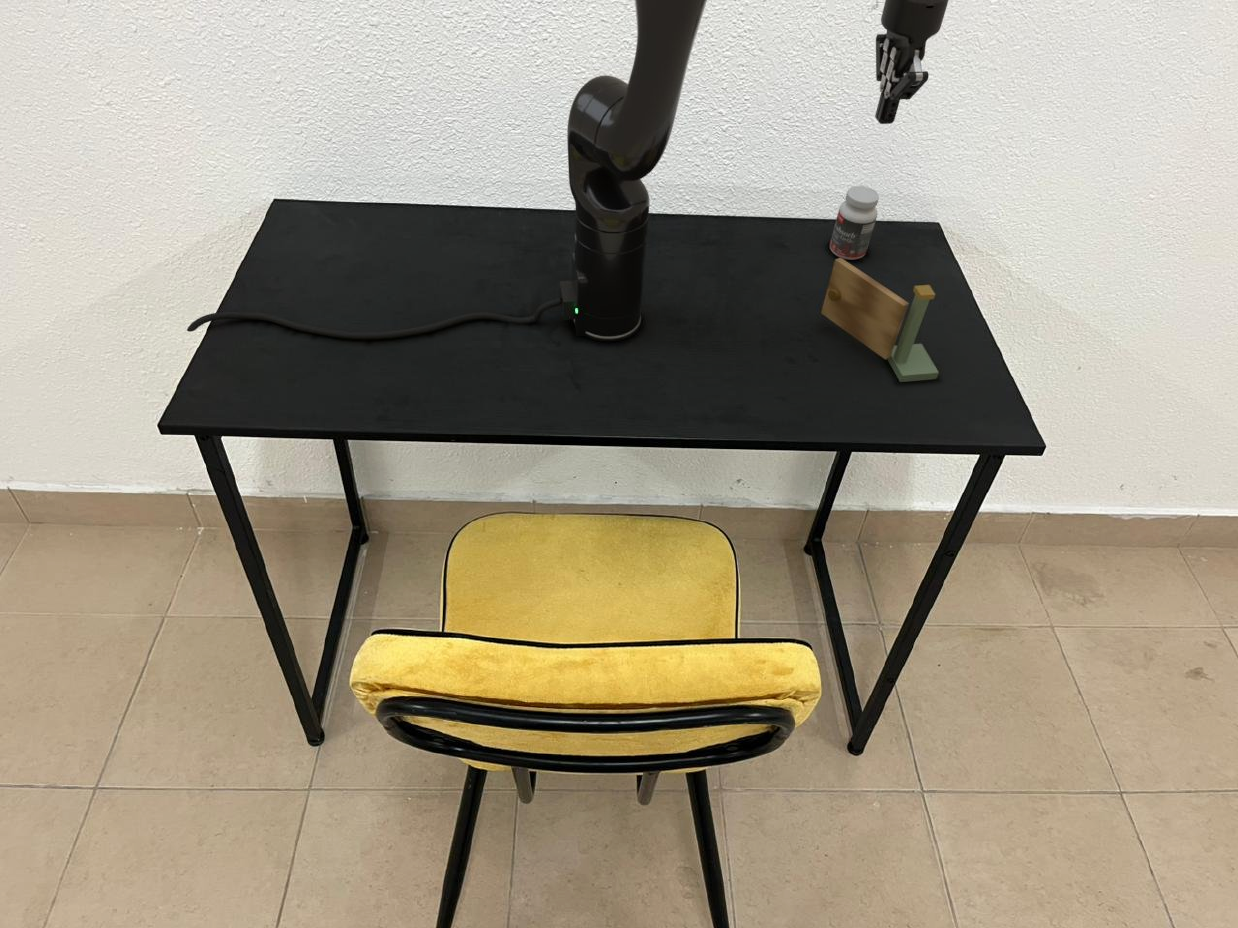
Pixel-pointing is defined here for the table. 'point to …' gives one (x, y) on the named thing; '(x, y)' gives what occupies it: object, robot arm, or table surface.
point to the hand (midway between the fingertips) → (884, 121)
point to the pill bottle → (855, 223)
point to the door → (864, 308)
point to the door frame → (911, 357)
